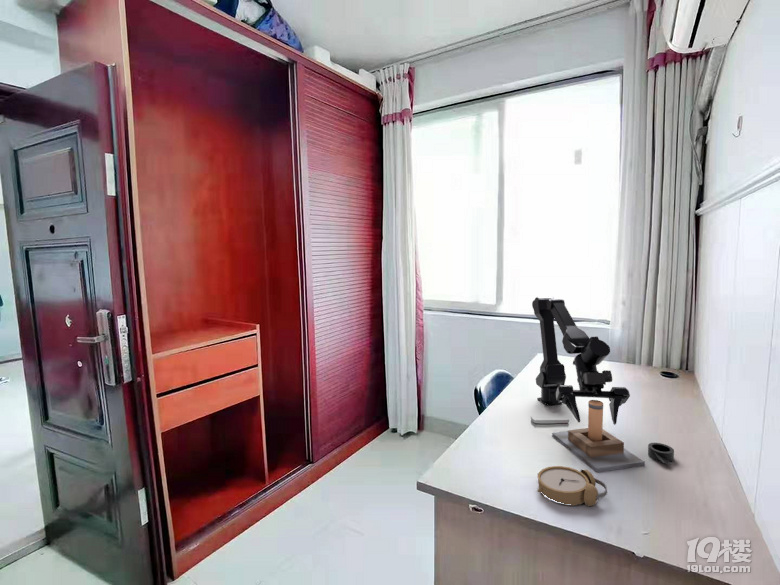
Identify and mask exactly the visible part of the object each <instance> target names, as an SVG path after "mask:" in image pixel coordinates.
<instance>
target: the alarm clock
mask: <svg viewBox="0 0 780 585" xmlns="http://www.w3.org/2000/svg"><path fill="white" fill-rule="evenodd" d="M537 481H538V482H537V483H538V489H537V492H538V493H540V492H542V493H543V494H544V495H546V496H547V497H548V498H550V499H553V500H555V501H557V502H561V503H564V504H571V505H570V506H578V505H577V504H579V505H582V504H584V505H586V506H588V505H589V507H590V506H591V507H592V505H593V506H594V505H596V504H597V502H598V501H600V499H601V498H604V497H606V496H607V494H608V487H607V484H605V482H603V481H602V480H600V479H597V478H596V477H595V476H594V475H593V473H592V472H591V471H589V470H588V469H581V470H577V469H575V468H572V467H568V466H562V465H553V466H547V467H545V468H542V469H541V470H540V471H539V472H537ZM596 484H598V485H599V486H602V487H603V489H604V490H603V492H601V493H599V492H598V489H597V487H596Z"/></svg>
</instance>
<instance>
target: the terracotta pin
mask: <svg viewBox="0 0 780 585" xmlns="http://www.w3.org/2000/svg"><path fill="white" fill-rule="evenodd" d="M587 404H588V405H587V406H588V411H587V412H588V414H587V418H588V421H587V422H588V424H587V428H588V439H589V440H591V441H592V442H598V441H602V429H603V427H604V426H603V424H604V423H603V422H604V421H603V419H604V418H603V417H604V403H603V401H600V400H597V399H590V400H588V403H587Z"/></svg>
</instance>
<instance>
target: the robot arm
mask: <svg viewBox="0 0 780 585" xmlns="http://www.w3.org/2000/svg"><path fill="white" fill-rule="evenodd" d="M531 305H532V306H531V307H532V309H533V313H534V315H535V317H536V318H537V319H538V321H539V327H540V337H541V346H542V354H543V355H542V356H543V357H542V358H543V360H542V363H541V365H540V366H539V373H538V375H537V376H536V378H535V383H536V385H537V386H538V387H539V388H540V389H541V391H540V392H541V393H540V394H541V395H540V397H537V401H540V402H541V403H542V404H543V405H545V406H555V405H562V404H564V405H565V406H566V407H567V408H568V409H569V411H570V412H571V414H572V415H573V417H574V419H575V420H576V421H577V423H580V422H581V416H580V412H579V409H578V405H577V401H576V398H577V397H579V398H580V397H581V398H600V399H601V398H602V399H608V401H609V405H608V406H609V411H610V417H611V420H612V423H613V426H614V425H616V424H617V422H618V421H617V420H618V413H619V408H620V407H622V405H623V404H626V403H627V401H629V398H630V397H631V394H630V390H629V389H628V388H626V387H623V386H612V387H611V389H610V390H602V389H604V388H605V386H606V385H607V384H606V383H612V382H613V375H612V370H608V369H607V370H604V369H603V371H601V372H599V370H598V368H597V366H599V365H600V364H601V363H602V362H603V361H604V360H605V359H606V358H607V357H608V356H609V354H610V353H611V348H610V346H609V345H608V344H607V343H606V342H605V341H604V340H601V339H599V337H598V336H588V334H587V333H586V331H585V330H582V329H581V328H579V327H578V326H577V324H576V322H575V321H574V319H573V318H572V316H571V314H570V312H569V310H568V307H567V306H566V303H565V300H564V299H563V298H561V297H560V298H558V297H557V298H555V297H554V296H537V297H535V298H534V300H532V303H531ZM555 322H556V324H557V326H558V328H559V329H560V332H561V333H562V336H563V337H562V340H561V343H562V345H563V349H564V350H565V352H566V353H567V354H570V355H576V356H575V357H574V359H573V361H572V365H573V366H575V371H576V376H577V377H576V378H577V383H578V387H579V389H574V387H573V385H571V384H570V385H569V384H568V385H567V384H566V379H567V374H566V371H565V370H566V369H565V365H564V364H563V363H561V362H560V360H559V359H558V349H557V340H556V331H555Z"/></svg>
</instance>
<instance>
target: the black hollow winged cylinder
mask: <svg viewBox="0 0 780 585" xmlns="http://www.w3.org/2000/svg"><path fill="white" fill-rule="evenodd" d="M647 455H648V457H649V458H650V459H651V460H654V461H656V462H658V463H663V464H666V465H669V466H672V463H673V462H674V460H675V450H674V448H673V447H671V446H670V445H667V444H664V443H661V442H650V443H648V445H647Z"/></svg>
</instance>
